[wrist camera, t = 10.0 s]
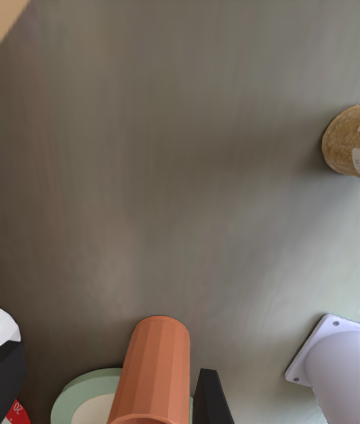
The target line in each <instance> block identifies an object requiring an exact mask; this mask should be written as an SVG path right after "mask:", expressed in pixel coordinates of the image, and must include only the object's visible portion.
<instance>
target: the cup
mask: <svg viewBox="0 0 360 424" xmlns="http://www.w3.org/2000/svg"><path fill="white" fill-rule="evenodd" d="M190 365H191V346H190V334H189V332H188V330H187V329H186V327H185V326H184V325H183V324H182V323H181V322H179V321H178V320H176V319H174V318H171V317H167V316H151V317H148V318H145V319H143V320H142V321H140V322H139V323H138V324H137V325H136V326H135V328H134V330H133V333H132V336H131V339H130V343H129V346H128V350H127V353H126V356H125V360H124V363H123V367H122V370H121V374H120V377H119V381H118V384H117V387H116V391H115V394H114V398H113V401H112V405H111V408H110V411H109V415H108V418H107V422H106V424H190Z"/></svg>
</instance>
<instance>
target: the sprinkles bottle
mask: <svg viewBox="0 0 360 424" xmlns="http://www.w3.org/2000/svg"><path fill="white" fill-rule="evenodd" d="M322 152H323V155H324V158H325V161H326V162H327V164H328V165H329V166H330V167H331V168H332V169H333V170H335V171H336V172H338V173H340V174H345V175H350V176H357V177H359V178H360V105H356V106H352V107H350V108H348V109H346V110H345V111H343V112H341V113H340V114H339V115H337V116H336V118H335V119H334V120H333V121H332V122H331V123H330V125H329V126H328V128H327V130H326V132H325V134H324V136H323V139H322Z"/></svg>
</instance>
